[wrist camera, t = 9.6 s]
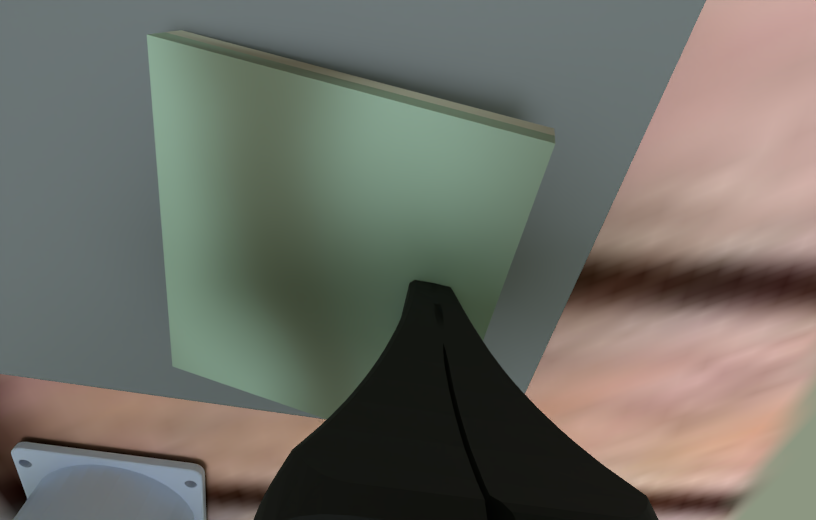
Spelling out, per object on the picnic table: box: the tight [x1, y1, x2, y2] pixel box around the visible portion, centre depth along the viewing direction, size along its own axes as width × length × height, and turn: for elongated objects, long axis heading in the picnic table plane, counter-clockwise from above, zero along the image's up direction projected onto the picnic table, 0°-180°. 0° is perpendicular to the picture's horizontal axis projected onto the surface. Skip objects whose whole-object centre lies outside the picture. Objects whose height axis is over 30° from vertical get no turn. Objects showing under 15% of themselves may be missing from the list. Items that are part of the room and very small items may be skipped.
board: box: [0, 0, 706, 419], centre depth 15 cm, size 16×22×1 cm
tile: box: [147, 30, 555, 419], centre depth 13 cm, size 9×10×1 cm
